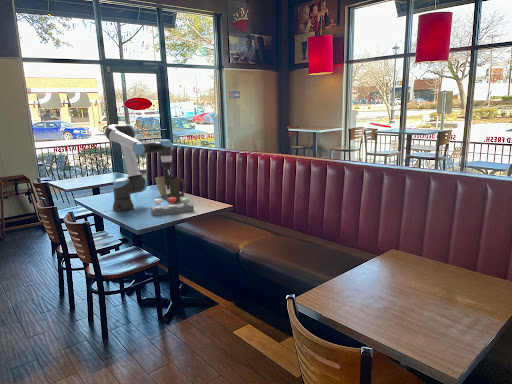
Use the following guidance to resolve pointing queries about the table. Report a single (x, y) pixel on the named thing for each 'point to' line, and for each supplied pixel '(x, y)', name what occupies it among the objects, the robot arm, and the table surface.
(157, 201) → the white button
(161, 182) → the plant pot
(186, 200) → the green button
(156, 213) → the button panel
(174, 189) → the beer stein
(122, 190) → the robot arm
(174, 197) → the red button
